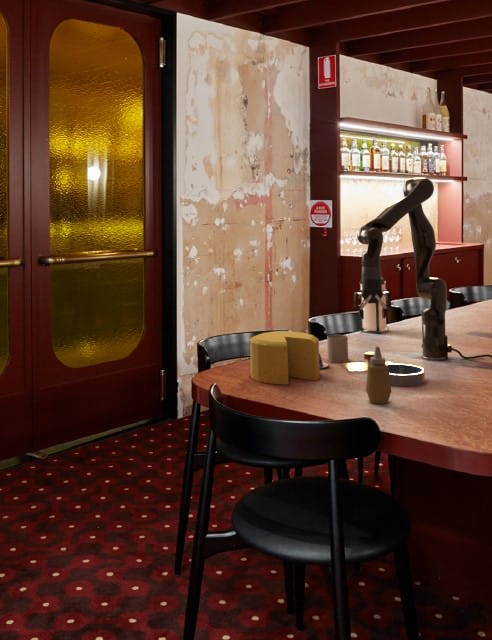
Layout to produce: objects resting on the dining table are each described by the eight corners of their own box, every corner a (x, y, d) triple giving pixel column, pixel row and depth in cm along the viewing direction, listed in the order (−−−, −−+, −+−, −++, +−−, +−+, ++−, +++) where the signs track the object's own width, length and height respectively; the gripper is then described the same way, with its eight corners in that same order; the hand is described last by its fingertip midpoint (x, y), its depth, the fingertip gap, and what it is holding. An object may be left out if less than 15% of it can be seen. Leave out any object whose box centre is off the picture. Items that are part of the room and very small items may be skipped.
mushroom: (376, 364, 286) (376, 351, 286) (380, 367, 280) (379, 354, 280) (362, 365, 286) (362, 351, 286) (366, 368, 280) (365, 354, 280)
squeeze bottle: (363, 399, 241) (361, 345, 241) (386, 397, 241) (385, 344, 242) (371, 405, 233) (369, 350, 233) (395, 404, 233) (393, 348, 233)
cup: (348, 362, 294) (347, 338, 294) (327, 362, 296) (327, 338, 296) (348, 358, 302) (347, 334, 302) (328, 358, 304) (327, 334, 304)
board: (392, 364, 290) (392, 361, 290) (402, 372, 276) (402, 369, 276) (342, 365, 290) (342, 362, 290) (350, 373, 276) (350, 371, 276)
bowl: (416, 375, 270) (415, 363, 271) (431, 387, 253) (430, 374, 253) (370, 376, 271) (369, 364, 271) (382, 388, 253) (381, 375, 253)
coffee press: (395, 333, 355) (393, 272, 355) (362, 334, 355) (360, 273, 355) (385, 327, 372) (384, 269, 372) (354, 328, 372) (353, 270, 372)
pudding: (292, 365, 292) (292, 352, 292) (317, 362, 297) (317, 349, 297) (308, 371, 281) (308, 358, 281) (334, 368, 286) (333, 354, 286)
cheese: (312, 386, 258) (311, 344, 258) (242, 381, 267) (241, 341, 267) (325, 370, 283) (324, 331, 283) (260, 366, 292) (259, 329, 292)
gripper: (355, 279, 281) (357, 320, 281) (392, 277, 281) (393, 319, 281) (351, 277, 288) (352, 317, 289) (387, 275, 288) (388, 316, 288)
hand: (373, 318), depth 285 cm, fingers open, 8 cm apart
